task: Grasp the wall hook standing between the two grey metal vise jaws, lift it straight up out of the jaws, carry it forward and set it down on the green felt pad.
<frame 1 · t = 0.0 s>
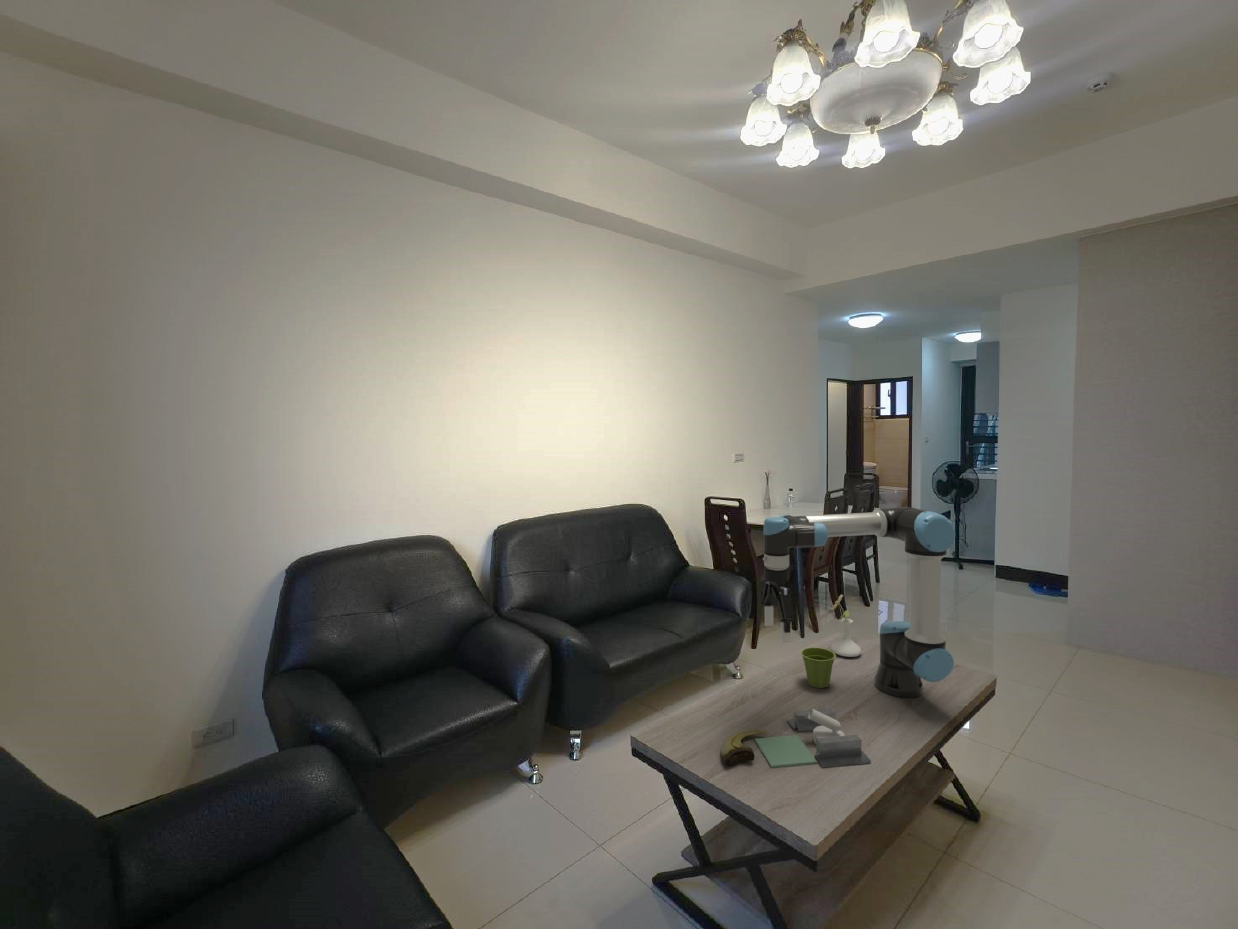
hand: (777, 633, 169), 28 cm above the table, tool pointing down, fingers open, 13 cm apart
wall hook: (826, 742, 159), on the table
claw: (743, 749, 156), on the table, touching felt pad
plant pot: (818, 684, 194), on the table
vise: (826, 741, 159), on the table
felt pad: (784, 751, 154), on the table
flower in vase: (845, 654, 218), on the table
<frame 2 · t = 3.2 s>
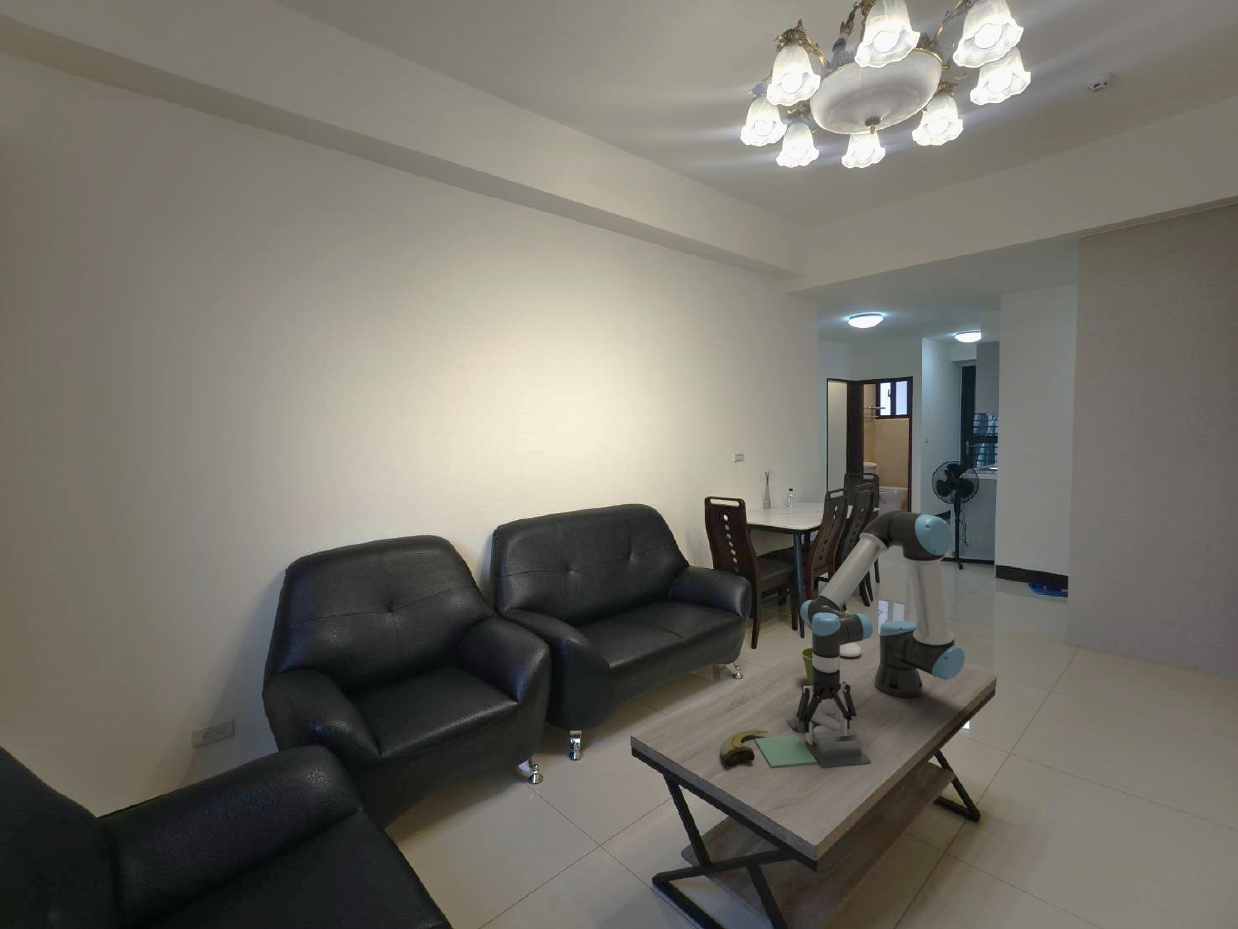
hand: (826, 740, 159), 0 cm above the table, tool pointing down, fingers closed on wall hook, 10 cm apart
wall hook: (826, 742, 159), on the table, touching gripper
everything else where it was.
when the fingers open (2 cm above the table, at t = 9.2 s): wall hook drops 1 cm, resting on felt pad.
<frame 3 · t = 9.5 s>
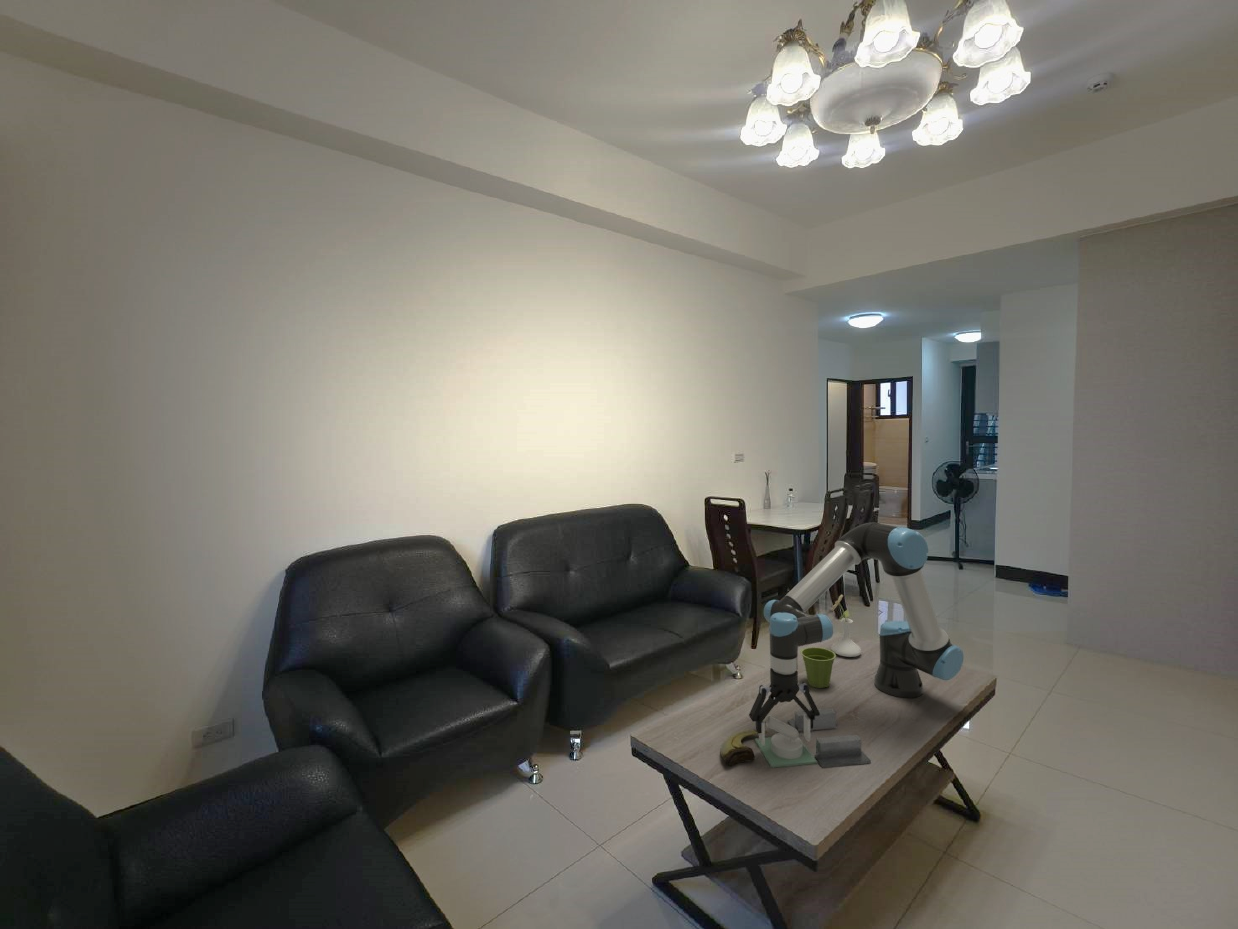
hand: (784, 741, 154), 3 cm above the table, tool pointing down, fingers open, 13 cm apart
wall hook: (784, 750, 154), resting on felt pad
everything else where it was.
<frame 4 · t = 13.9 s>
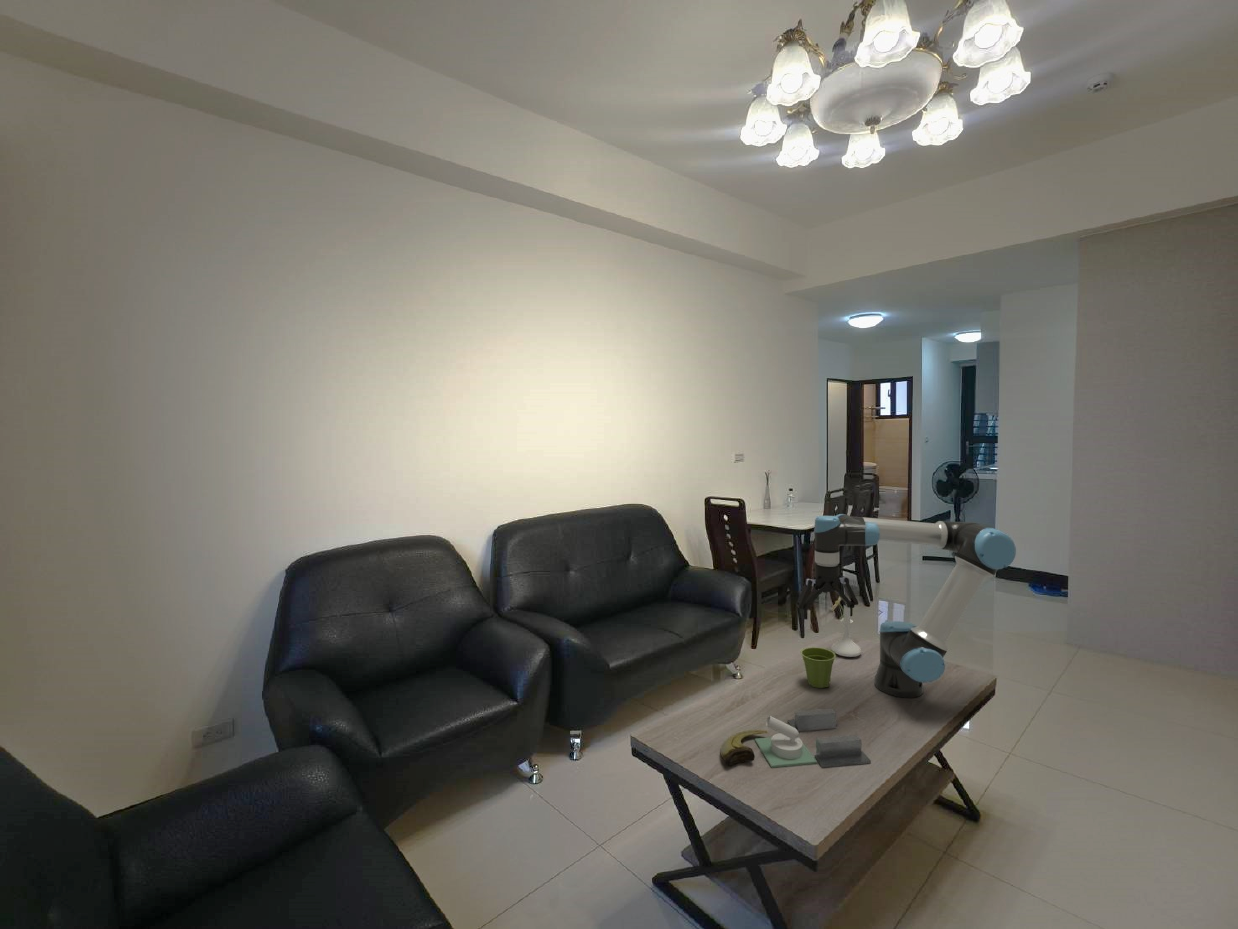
hand: (827, 627, 177), 27 cm above the table, tool pointing down, fingers open, 13 cm apart
nothing on the table moved.
at the end: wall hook inside the target area (0.1 cm from its centre), resting on felt pad; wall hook touching felt pad; the gripper is holding nothing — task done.
